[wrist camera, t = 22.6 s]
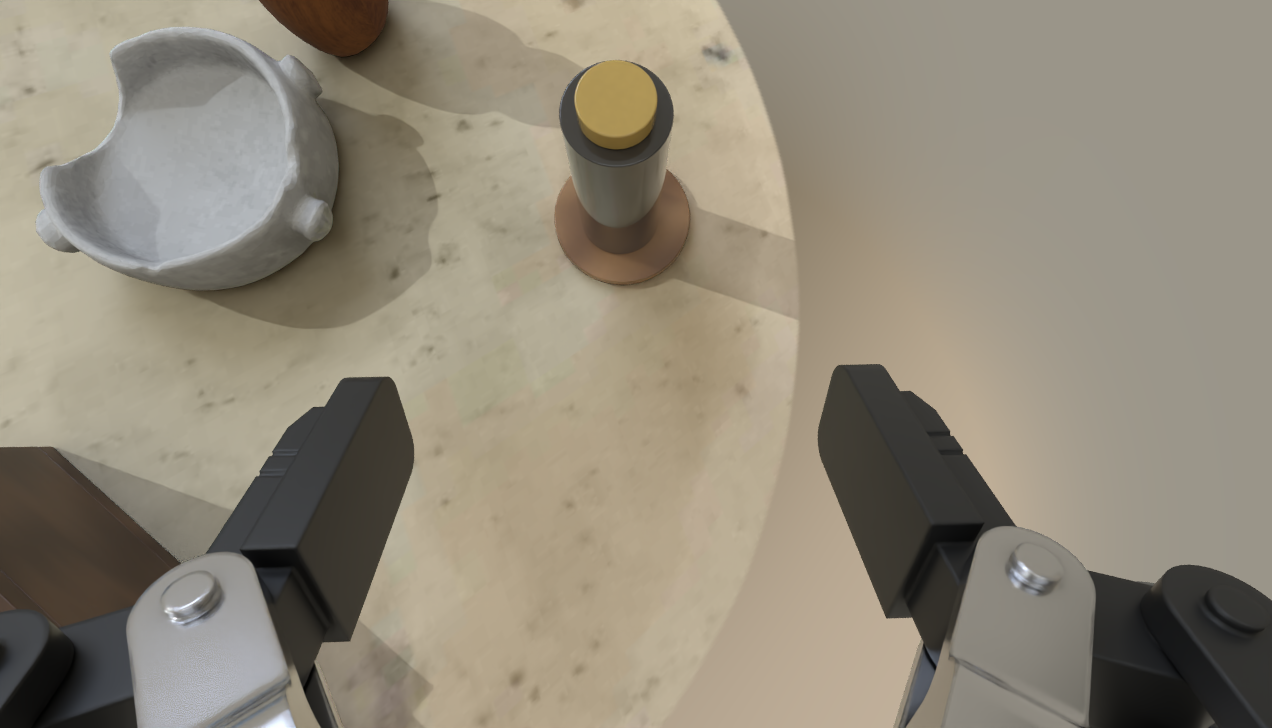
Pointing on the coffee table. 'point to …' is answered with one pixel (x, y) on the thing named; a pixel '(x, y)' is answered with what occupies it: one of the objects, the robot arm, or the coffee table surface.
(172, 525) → the coffee table surface
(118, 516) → the cabinet
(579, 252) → the coaster
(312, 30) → the wooden figurine
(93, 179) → the dish
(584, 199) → the cylinder
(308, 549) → the robot arm
